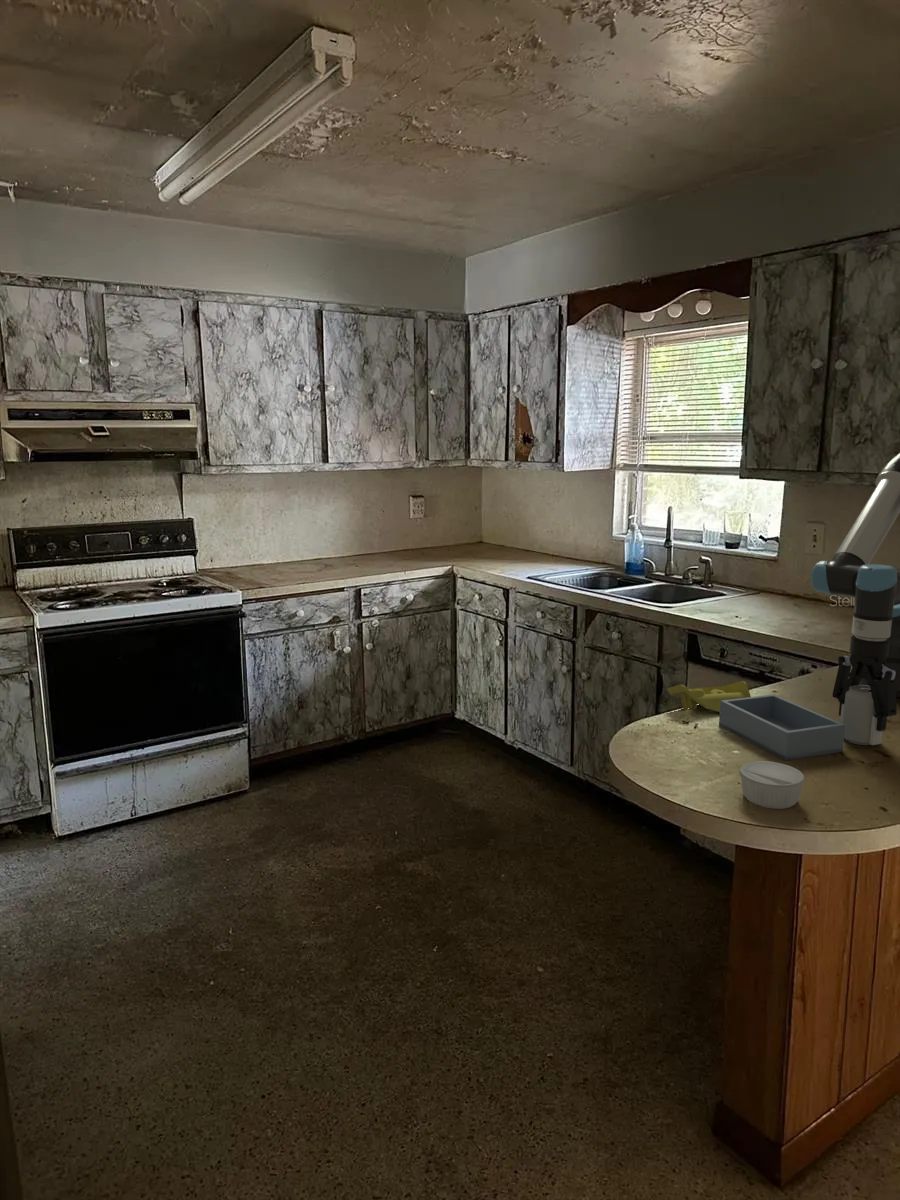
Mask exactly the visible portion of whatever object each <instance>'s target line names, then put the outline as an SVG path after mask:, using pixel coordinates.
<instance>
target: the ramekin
mask: <svg viewBox="0 0 900 1200" xmlns="http://www.w3.org/2000/svg"><path fill="white" fill-rule="evenodd" d="M739 776H740V780H741V789H742V794H743V796H744V797H745V798H747V801H748V800H749V801H748V802H750V803H751V802H752V804H753V803H754V805H756V806H758V805H759V807H762V808H766V809H775V810H781V809H783V810H785V809H789V808H792V807H793V806H795V804H797V803H798V801H799V799H800V795H801V793H802V792H801V791H802V787H803V785H804V784H805V775H804V774H803V772H801V771H800V770H799V769H797V768H796V767H793V766H790V765H787V764H784V763H781V762H775V761H770V760H769V761H768V760H766V761H765V760H763V761H762V760H760V761H759V760H758V761H757V760H756V761H751V762H750V761H749V762H748V763H747V762H746V763H745V764H743V765H742V766H741V767H740V768H739Z"/></svg>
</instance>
